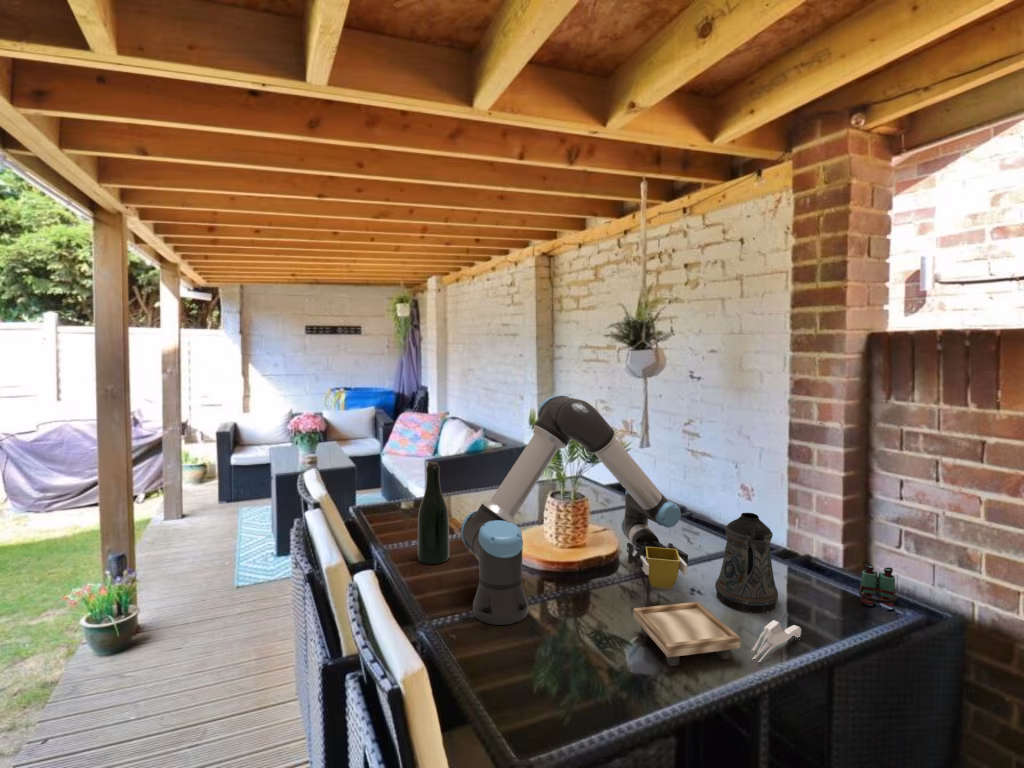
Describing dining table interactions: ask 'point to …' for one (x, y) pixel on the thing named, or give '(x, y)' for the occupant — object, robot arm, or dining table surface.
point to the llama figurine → (775, 636)
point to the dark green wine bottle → (433, 521)
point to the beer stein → (747, 567)
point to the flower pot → (662, 566)
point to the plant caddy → (686, 630)
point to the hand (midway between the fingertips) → (666, 570)
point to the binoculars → (884, 586)
